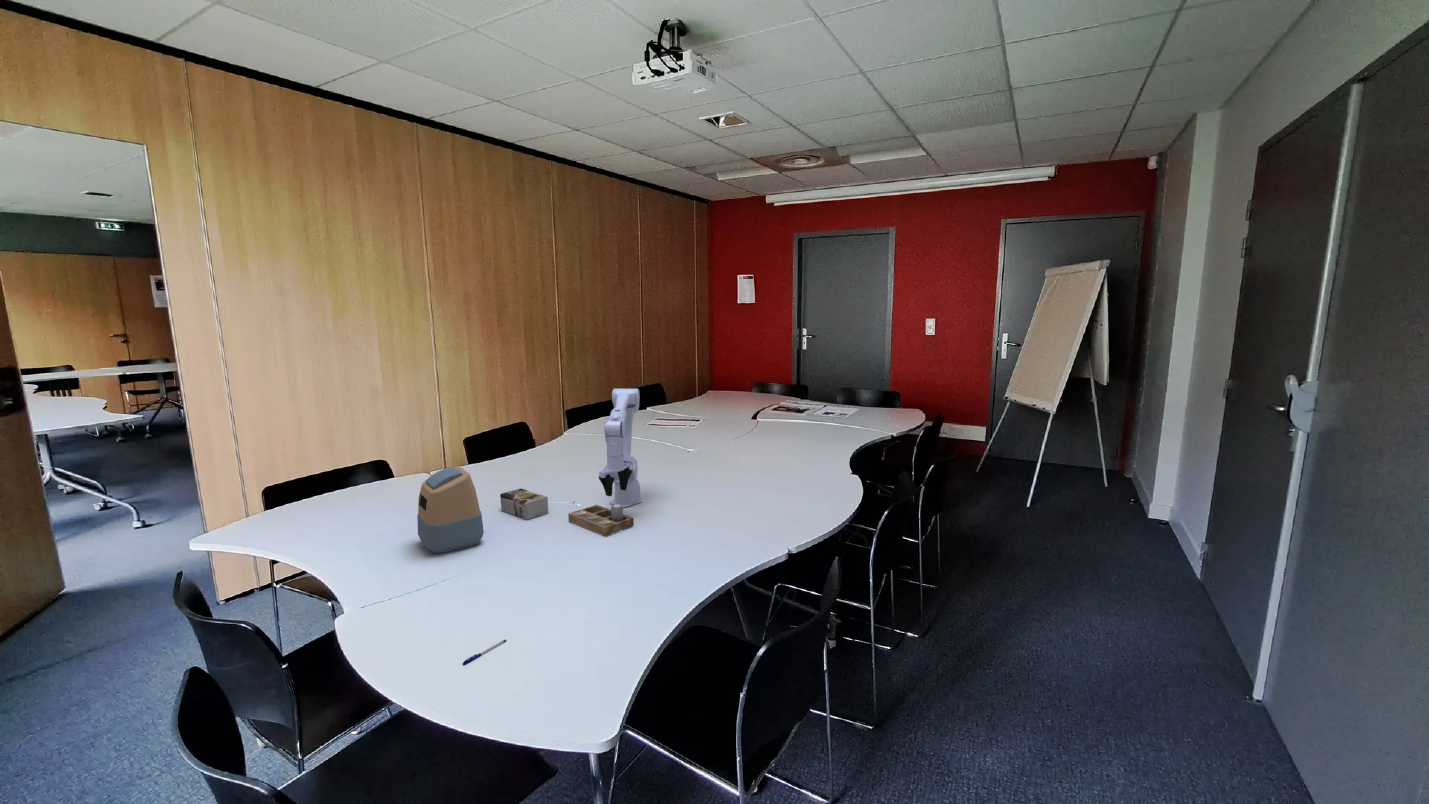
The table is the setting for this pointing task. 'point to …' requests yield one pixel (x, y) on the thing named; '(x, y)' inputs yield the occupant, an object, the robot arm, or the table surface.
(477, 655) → the ballpoint pen
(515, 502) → the coffee box
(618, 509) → the plug
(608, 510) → the socket board
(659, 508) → the table surface
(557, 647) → the table surface
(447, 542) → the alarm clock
